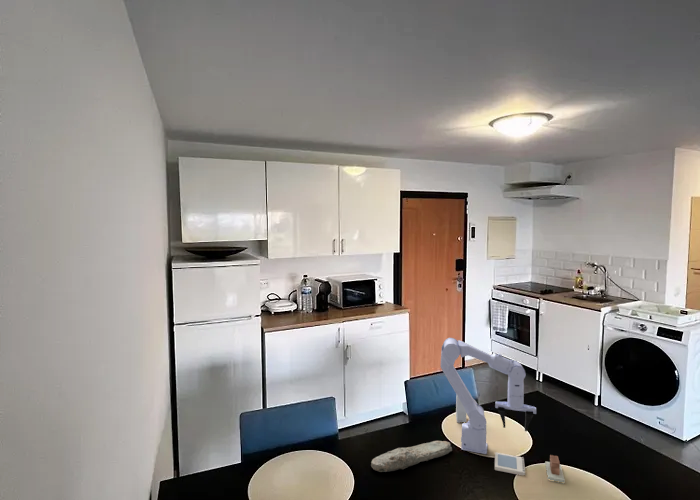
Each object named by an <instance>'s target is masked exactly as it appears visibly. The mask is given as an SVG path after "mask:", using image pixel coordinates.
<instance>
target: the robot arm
mask: <svg viewBox="0 0 700 500" xmlns="http://www.w3.org/2000/svg"><path fill="white" fill-rule="evenodd" d="M440 351H441V352H440V353H441V354H440V369H441V371H442V372H443V373H444V375H445V378H446V379H447V381H448V382H449V384H450V386H451V387H452V389H453V391H454V393H455V394H457V396H458V398H459V399H460V401H461V403H462V404H463V406H464V408H465V411H466V416H468V420H467V421H466V423H461V437H460V442H461V448H460V449H461V450H463V451H468V452H472V453H478V454H482V455H487V454H488V442H487V419H486V416H485V409H484V407H482V406H481V405H479V404H478V403H477V400H475V399H474V398H473V396H472V393H471V392H470V391H469V389H468V387H467V386H466V384H465V382H464V381H463V379H462V378H461V376H460V374H459V373H458V371H457V369H456V368H455V366H454V365H455V361H456V360H457V359H458V358H459V356H460V358H464V357H467V356H469V357H471V358H474V359H477V360H480V361H482V362H485V363H486V364H488V366H489V367H488V368H490V369H493V370H495V371H498V372H500V373H502V374H504V375H507V376H508V380H507V401H495V405H494V407H495V409H498V411H497V412H498V414H499V416H500V418H501V421H502V428H506V410H510V411H511V410H512V411H517V412H518V411H519V412H525V414H524V415H525V418H524V419H525V421H524V431H525V432H528V428H529V425H530V423H531V421H532V419H533V418H534V415H537V407H535V406H534V405H533V406H532V405H528V404H524V403H525V402H524V397H525V395H524V394H525V393H524V392H525V390H524V389H525V383H524V381H525V380H524V379H526V374H527V373H526V370H525V368H524V366H523V365H522V364H521V362H519V361H517V360H514V359H508V358H507V357H504V356H503V354H501V353H492V354H489V353H487V352H485V351H483V350H481V349H480V348H477V347H475V346H473V345H471V344H469V343H467V342H464V341H462V340H460V339H458V340H457V339H456V338H454V337H448V338H446V339H445V340H444V341H443V343H442V345H441V350H440Z"/></svg>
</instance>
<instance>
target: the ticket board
mask: <svg viewBox="0 0 700 500" xmlns="http://www.w3.org/2000/svg"><path fill="white" fill-rule="evenodd" d="M525 467H526V466H525V458H524V456H522V457H521V456H517V455H512V454H507V453H502V452H496V451H495V452H494V470H495V471H498V472H504V473H509V474H513V475H518V474H519V476H523V475H525V476H526V468H525Z"/></svg>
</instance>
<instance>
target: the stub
mask: <svg viewBox="0 0 700 500" xmlns="http://www.w3.org/2000/svg"><path fill="white" fill-rule="evenodd" d="M560 463H561V462H560V460H559V456H558V455H553V454H550V455H549V461H545V462H544V465H546V466H545V469H546V470H547V471H546V475H548V477H547V480H548V479H550V480H554V481H559V482H564V483H565V484H566V481H565V476H564V473H563V469H562V465H561V464H560ZM554 481H553V482H554ZM559 482H558V483H559ZM564 483H563V484H564Z"/></svg>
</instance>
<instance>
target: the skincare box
mask: <svg viewBox="0 0 700 500" xmlns="http://www.w3.org/2000/svg"><path fill="white" fill-rule="evenodd" d="M455 394H456V393H455ZM455 396H456V398H455V399H456V400H455V401H456V403H455V407H456V408H455V418H456V422H457V423H460V422H466V423H467V413H466V411H465V408H464V406H463V404H462V403H461V401H460V399H459V398H458V396H457V394H456V395H455Z"/></svg>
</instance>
